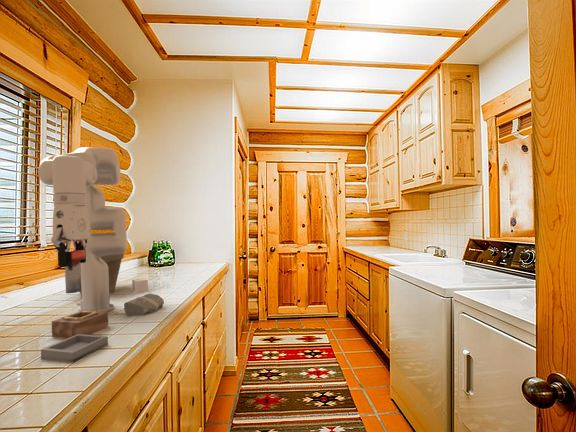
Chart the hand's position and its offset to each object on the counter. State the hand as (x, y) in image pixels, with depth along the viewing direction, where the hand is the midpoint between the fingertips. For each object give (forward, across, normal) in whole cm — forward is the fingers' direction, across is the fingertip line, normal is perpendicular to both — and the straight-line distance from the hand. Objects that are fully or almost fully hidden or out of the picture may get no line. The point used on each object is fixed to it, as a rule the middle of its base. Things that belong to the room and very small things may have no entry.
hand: (72, 264), depth 87 cm
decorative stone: (+25, +36, -6) cm, 44 cm away
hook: (+8, 0, 0) cm, 8 cm away
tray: (+25, 0, 0) cm, 25 cm away
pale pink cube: (+25, +73, +10) cm, 78 cm away
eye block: (+25, +17, +8) cm, 31 cm away
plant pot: (+25, +73, +31) cm, 83 cm away
